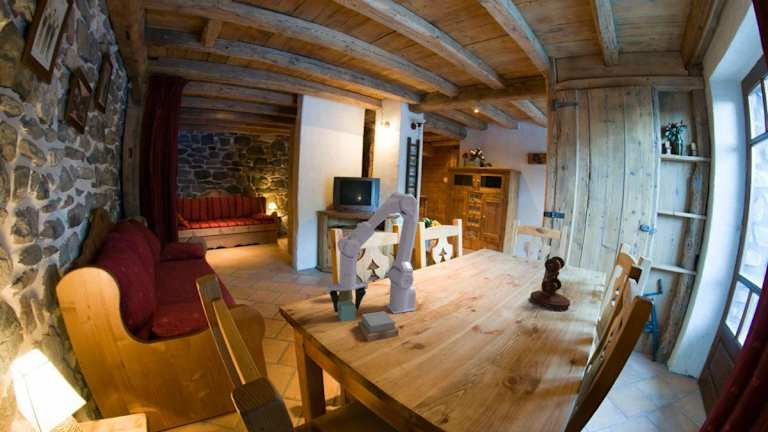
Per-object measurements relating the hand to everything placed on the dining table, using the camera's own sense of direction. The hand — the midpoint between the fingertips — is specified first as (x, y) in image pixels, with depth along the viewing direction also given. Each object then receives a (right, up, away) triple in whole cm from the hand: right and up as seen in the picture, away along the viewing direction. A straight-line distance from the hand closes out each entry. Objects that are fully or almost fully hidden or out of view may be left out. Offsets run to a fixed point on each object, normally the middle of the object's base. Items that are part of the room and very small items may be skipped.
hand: (346, 309), depth 106 cm
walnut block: (+11, -5, -8) cm, 14 cm away
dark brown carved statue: (+83, -4, +22) cm, 86 cm away
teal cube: (0, -3, 0) cm, 3 cm away
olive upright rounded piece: (-2, -1, +16) cm, 16 cm away
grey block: (+11, -3, -8) cm, 14 cm away
